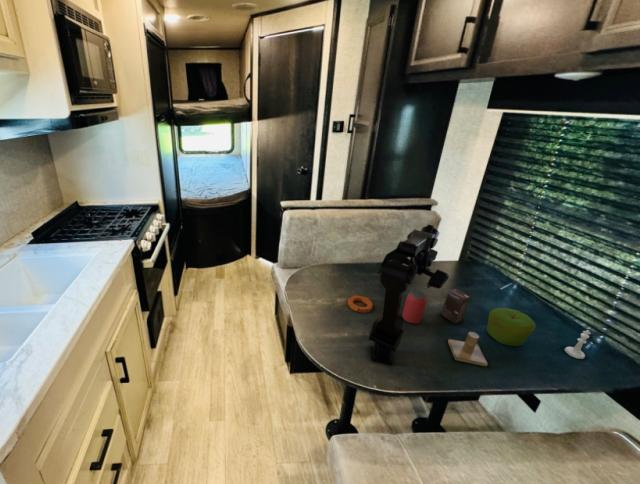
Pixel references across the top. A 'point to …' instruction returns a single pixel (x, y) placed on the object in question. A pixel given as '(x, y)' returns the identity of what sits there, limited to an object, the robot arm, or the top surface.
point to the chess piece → (578, 346)
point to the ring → (357, 308)
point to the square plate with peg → (468, 350)
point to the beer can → (414, 306)
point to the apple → (509, 326)
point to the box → (455, 305)
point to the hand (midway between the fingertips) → (416, 280)
